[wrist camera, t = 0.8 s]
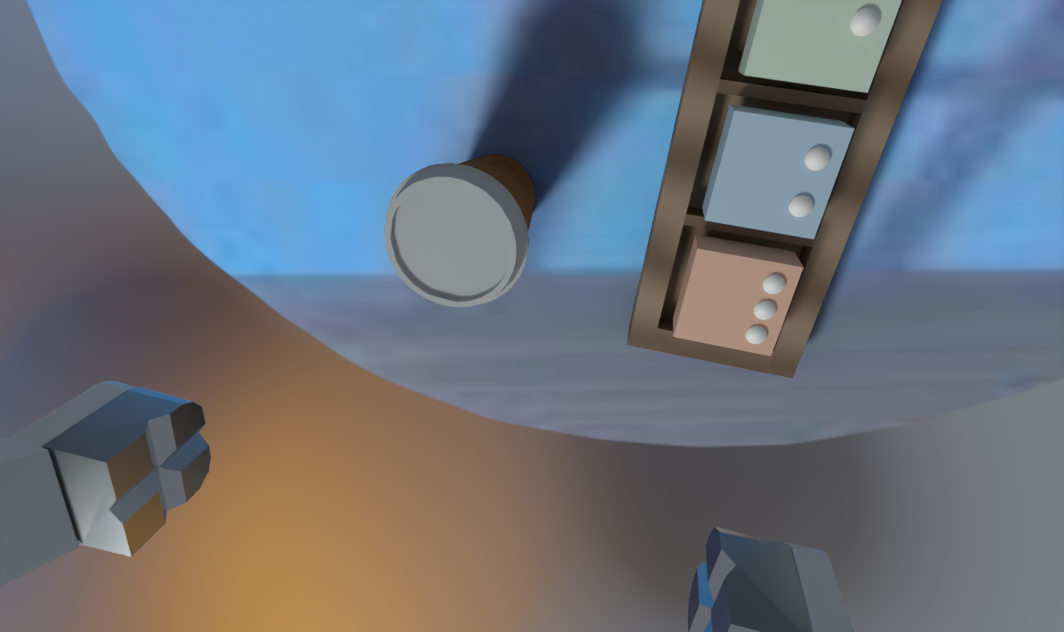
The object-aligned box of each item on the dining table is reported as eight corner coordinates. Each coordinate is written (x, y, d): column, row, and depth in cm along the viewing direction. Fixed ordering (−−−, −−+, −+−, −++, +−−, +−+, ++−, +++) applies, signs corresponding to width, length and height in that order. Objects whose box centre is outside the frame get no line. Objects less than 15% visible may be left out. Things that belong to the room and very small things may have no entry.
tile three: (695, 234, 42) (697, 249, 39) (794, 251, 41) (804, 268, 39) (672, 318, 46) (673, 338, 43) (764, 336, 45) (771, 357, 42)
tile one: (772, -59, 34) (782, -66, 31) (899, -44, 33) (921, -50, 30) (738, 71, 37) (744, 75, 34) (852, 87, 36) (868, 93, 33)
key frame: (729, -118, 35) (734, -129, 33) (958, -94, 34) (983, -104, 31) (629, 327, 50) (627, 344, 47) (785, 358, 48) (792, 378, 46)
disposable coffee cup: (545, 124, 44) (508, 158, 33) (563, 245, 48) (535, 309, 37) (428, 141, 46) (358, 178, 36) (454, 255, 50) (399, 318, 40)
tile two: (729, 104, 38) (734, 111, 35) (841, 120, 37) (855, 129, 34) (702, 207, 41) (705, 221, 39) (804, 224, 40) (814, 240, 38)
